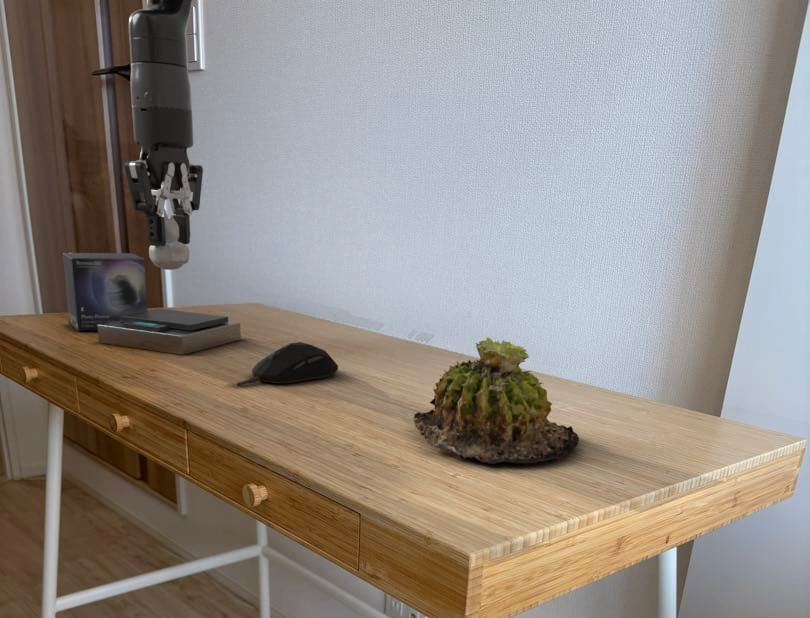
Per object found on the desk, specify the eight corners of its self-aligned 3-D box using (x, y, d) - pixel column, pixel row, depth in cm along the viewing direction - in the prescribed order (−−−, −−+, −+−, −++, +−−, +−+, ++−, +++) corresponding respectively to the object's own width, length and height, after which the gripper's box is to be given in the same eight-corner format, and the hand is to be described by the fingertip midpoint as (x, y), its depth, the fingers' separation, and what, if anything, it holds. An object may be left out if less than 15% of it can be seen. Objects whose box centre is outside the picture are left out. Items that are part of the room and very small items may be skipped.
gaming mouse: (221, 381, 98) (219, 346, 96) (313, 365, 108) (314, 334, 106) (255, 391, 94) (254, 356, 92) (348, 374, 104) (348, 342, 103)
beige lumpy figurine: (176, 267, 120) (173, 207, 116) (200, 272, 115) (198, 210, 112) (141, 268, 116) (137, 206, 113) (164, 273, 112) (161, 209, 109)
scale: (98, 342, 115) (96, 319, 114) (162, 329, 127) (161, 308, 126) (183, 355, 110) (181, 330, 109) (240, 339, 122) (240, 317, 121)
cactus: (601, 470, 74) (617, 360, 70) (422, 466, 72) (429, 354, 68) (552, 418, 89) (563, 326, 86) (405, 414, 88) (409, 320, 84)
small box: (78, 332, 121) (70, 257, 117) (68, 325, 126) (60, 252, 122) (150, 329, 127) (145, 256, 122) (138, 322, 132) (133, 252, 127)
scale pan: (119, 321, 117) (119, 315, 116) (160, 313, 124) (160, 308, 124) (191, 330, 113) (191, 324, 112) (228, 322, 120) (228, 316, 120)
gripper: (172, 110, 115) (179, 240, 122) (100, 99, 103) (112, 245, 110) (218, 111, 113) (222, 244, 119) (150, 101, 100) (159, 249, 107)
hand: (170, 244), depth 114 cm, fingers closed on beige lumpy figurine, 4 cm apart
